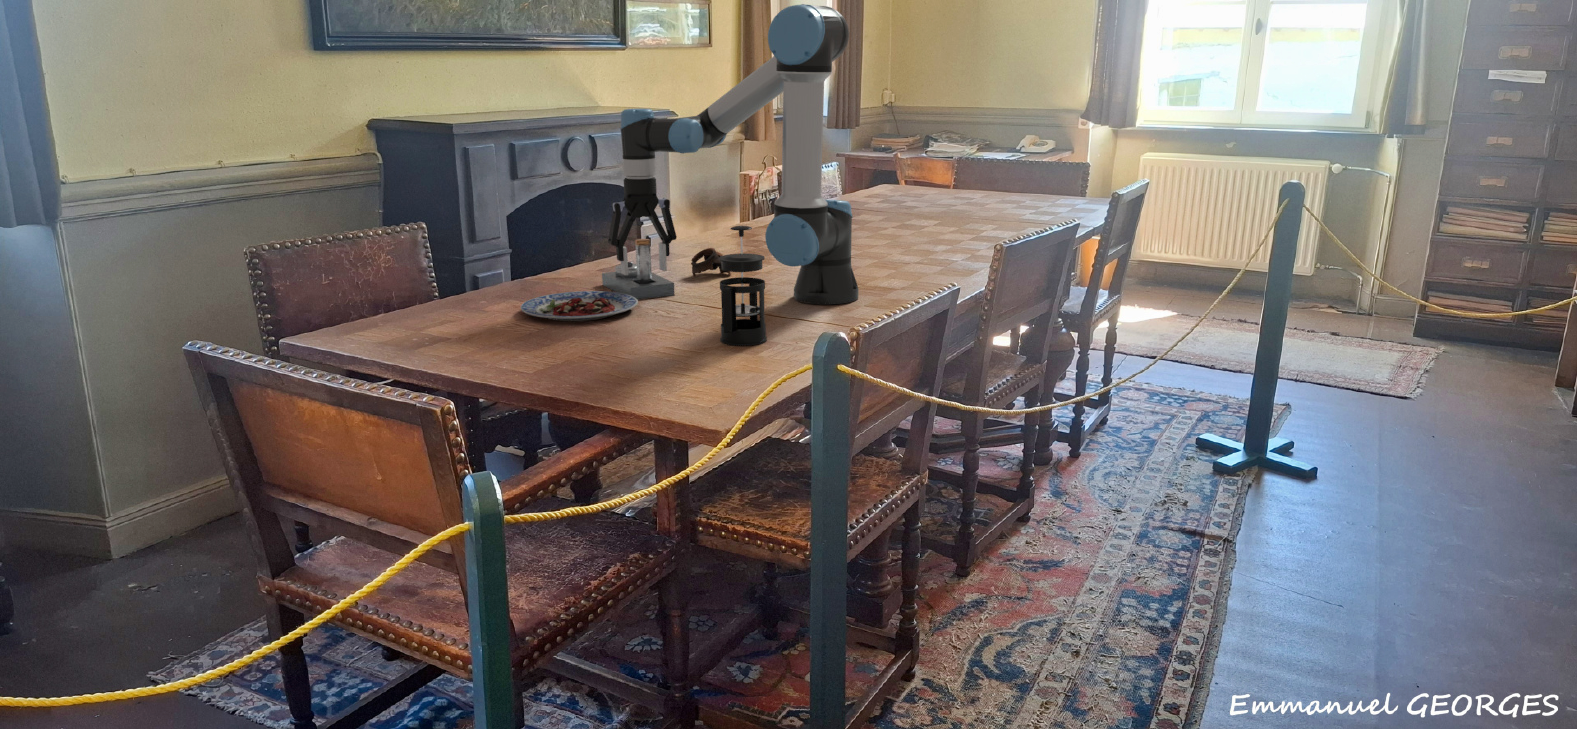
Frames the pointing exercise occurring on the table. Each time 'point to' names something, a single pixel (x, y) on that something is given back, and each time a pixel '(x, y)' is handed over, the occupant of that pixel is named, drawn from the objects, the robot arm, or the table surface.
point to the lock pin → (643, 261)
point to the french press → (742, 329)
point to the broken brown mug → (707, 261)
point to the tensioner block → (630, 286)
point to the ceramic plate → (579, 305)
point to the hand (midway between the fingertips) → (644, 272)
